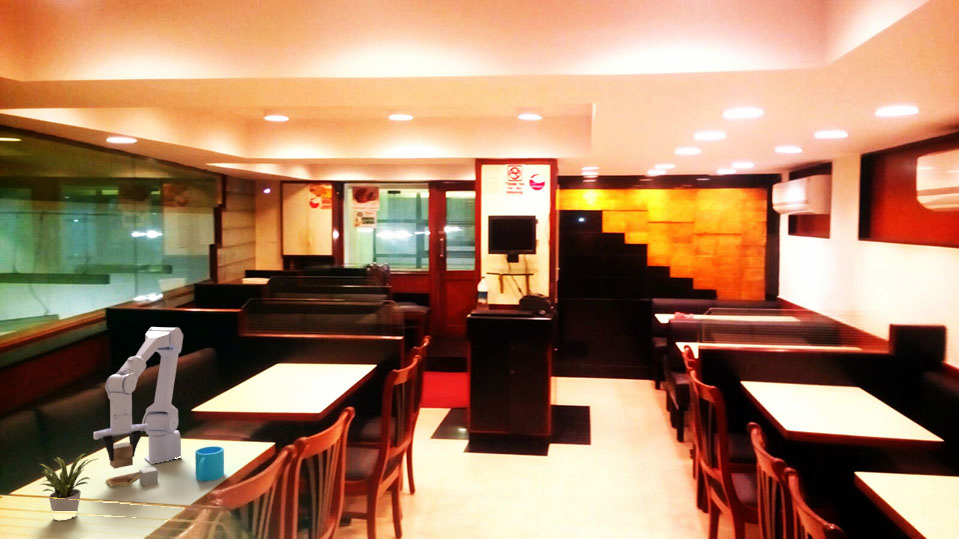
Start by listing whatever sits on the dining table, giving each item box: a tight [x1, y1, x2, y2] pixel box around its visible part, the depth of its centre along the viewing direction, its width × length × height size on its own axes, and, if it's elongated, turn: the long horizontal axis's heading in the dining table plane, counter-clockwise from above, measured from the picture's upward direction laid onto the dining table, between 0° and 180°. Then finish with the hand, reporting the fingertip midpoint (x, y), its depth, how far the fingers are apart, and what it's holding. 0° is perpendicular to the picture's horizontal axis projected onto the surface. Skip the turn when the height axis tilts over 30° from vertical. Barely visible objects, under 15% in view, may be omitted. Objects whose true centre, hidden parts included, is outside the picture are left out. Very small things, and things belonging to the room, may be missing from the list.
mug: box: [195, 445, 225, 482], centre depth 201 cm, size 12×8×8 cm
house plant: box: [40, 453, 98, 512], centre depth 173 cm, size 14×14×16 cm
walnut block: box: [109, 441, 134, 470], centre depth 198 cm, size 5×5×6 cm
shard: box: [105, 471, 139, 488], centre depth 198 cm, size 11×8×2 cm
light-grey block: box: [138, 466, 159, 487], centre depth 197 cm, size 4×4×4 cm
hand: (121, 458), depth 198 cm, fingers closed on walnut block, 5 cm apart
